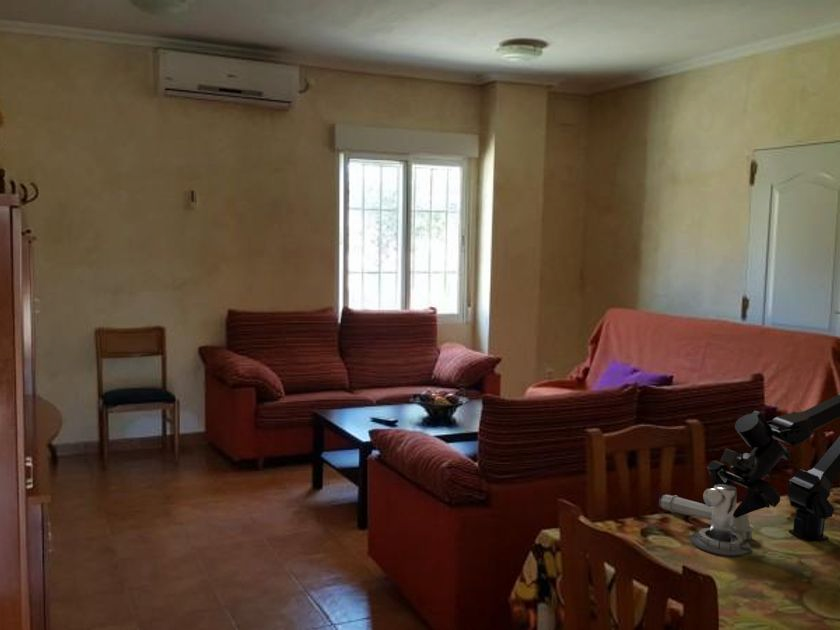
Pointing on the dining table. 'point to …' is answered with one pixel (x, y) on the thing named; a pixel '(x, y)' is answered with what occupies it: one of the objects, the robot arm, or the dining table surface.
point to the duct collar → (720, 544)
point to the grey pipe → (703, 513)
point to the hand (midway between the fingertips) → (719, 509)
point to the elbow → (721, 511)
